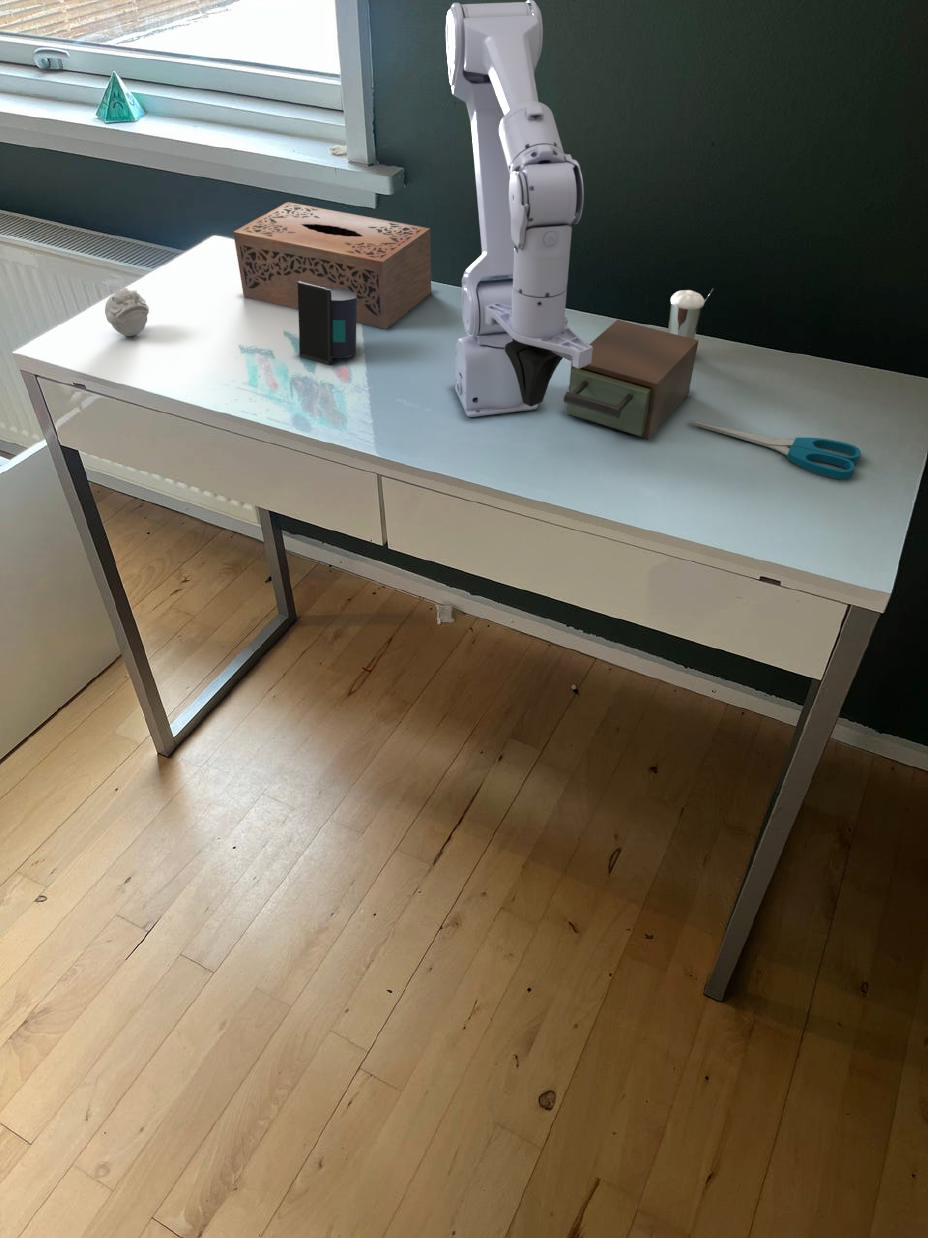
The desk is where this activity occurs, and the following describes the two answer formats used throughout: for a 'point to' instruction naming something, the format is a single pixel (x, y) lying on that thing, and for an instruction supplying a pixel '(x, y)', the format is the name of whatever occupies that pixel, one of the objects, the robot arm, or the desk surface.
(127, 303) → the frog figurine
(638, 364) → the cabinet
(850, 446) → the scissors
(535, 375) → the robot arm
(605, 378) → the drawer
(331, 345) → the speaker
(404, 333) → the desk surface
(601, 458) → the desk surface
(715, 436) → the desk surface
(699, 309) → the milkshake
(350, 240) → the tissue box cover
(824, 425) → the desk surface
